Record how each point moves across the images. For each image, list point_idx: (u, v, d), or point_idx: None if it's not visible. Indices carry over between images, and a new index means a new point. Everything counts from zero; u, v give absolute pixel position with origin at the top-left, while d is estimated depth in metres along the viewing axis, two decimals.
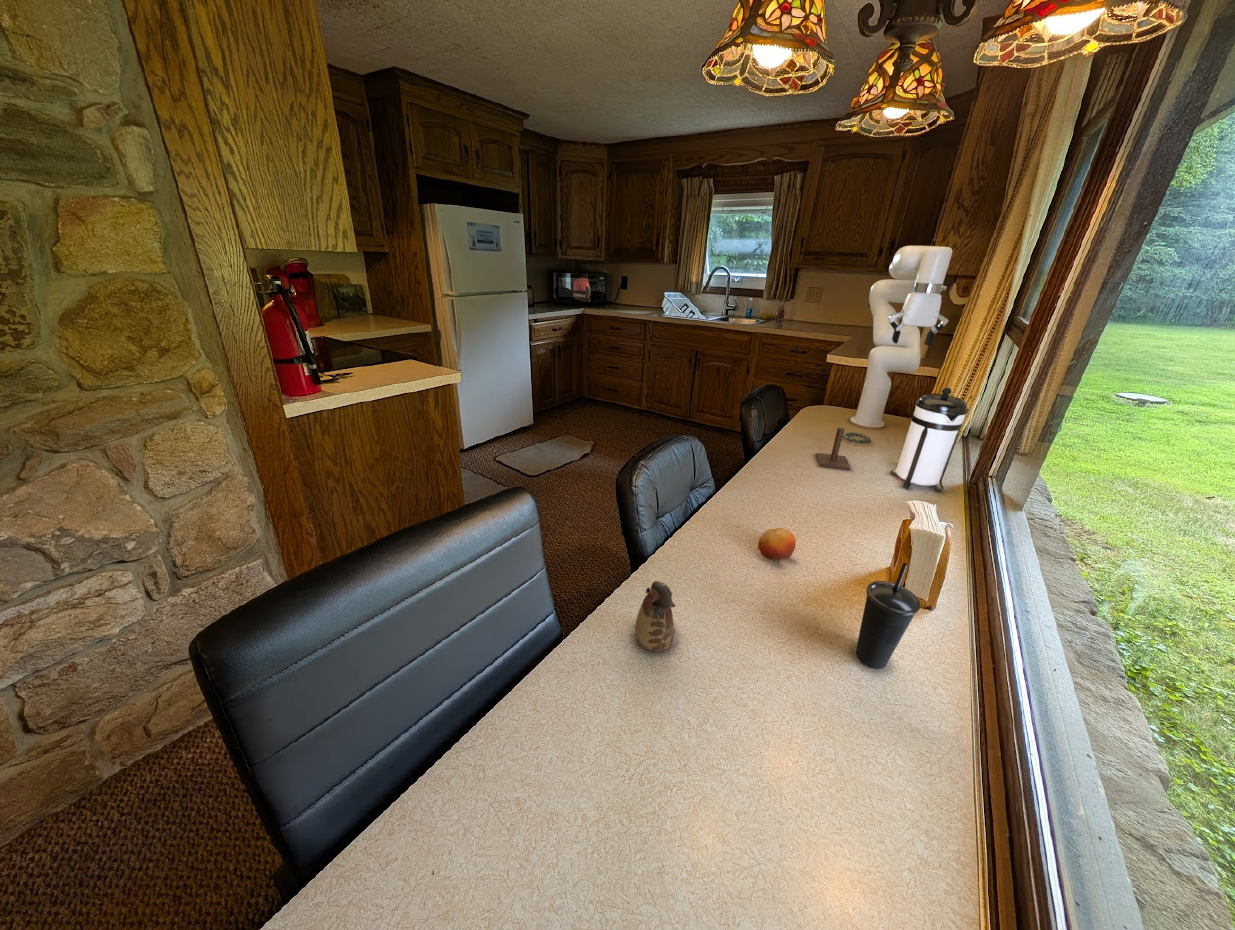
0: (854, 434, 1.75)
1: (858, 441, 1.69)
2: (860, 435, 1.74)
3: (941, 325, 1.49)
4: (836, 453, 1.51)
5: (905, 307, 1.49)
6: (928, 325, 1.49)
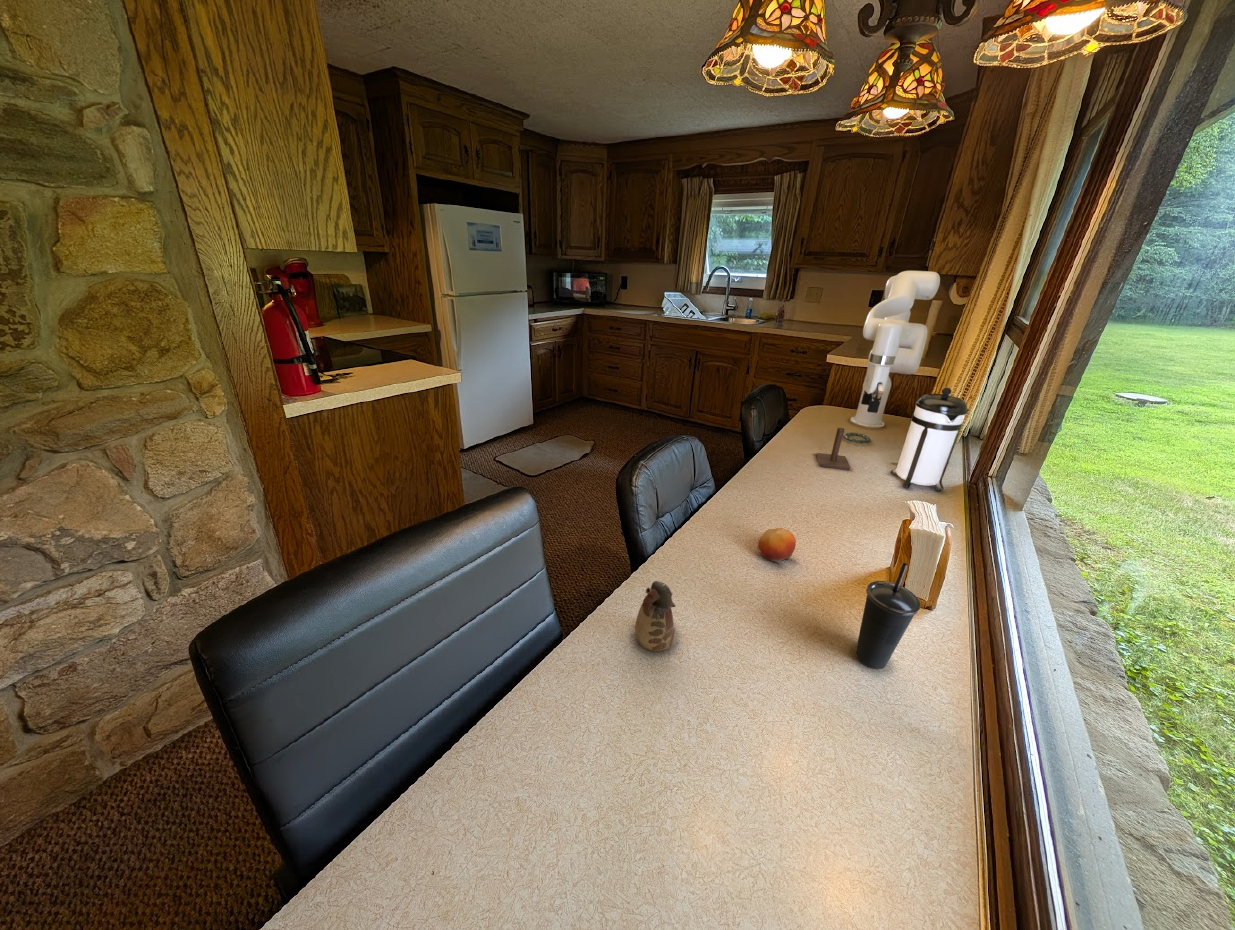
0: (854, 434, 1.75)
1: (858, 441, 1.69)
2: (860, 435, 1.74)
3: None
4: (836, 453, 1.51)
5: (883, 380, 1.54)
6: None
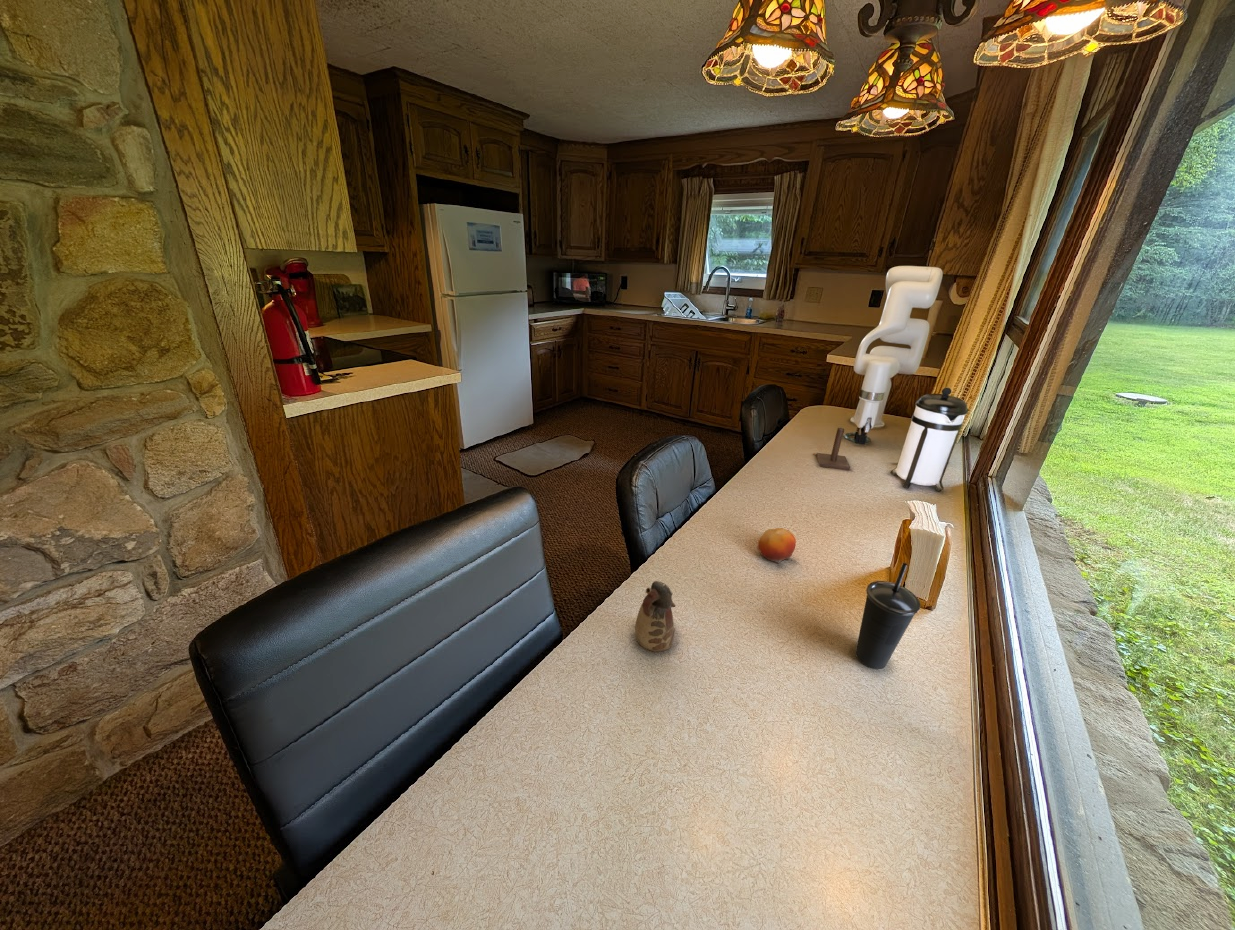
0: (854, 434, 1.75)
1: None
2: None
3: None
4: (836, 453, 1.51)
5: (873, 415, 1.59)
6: None
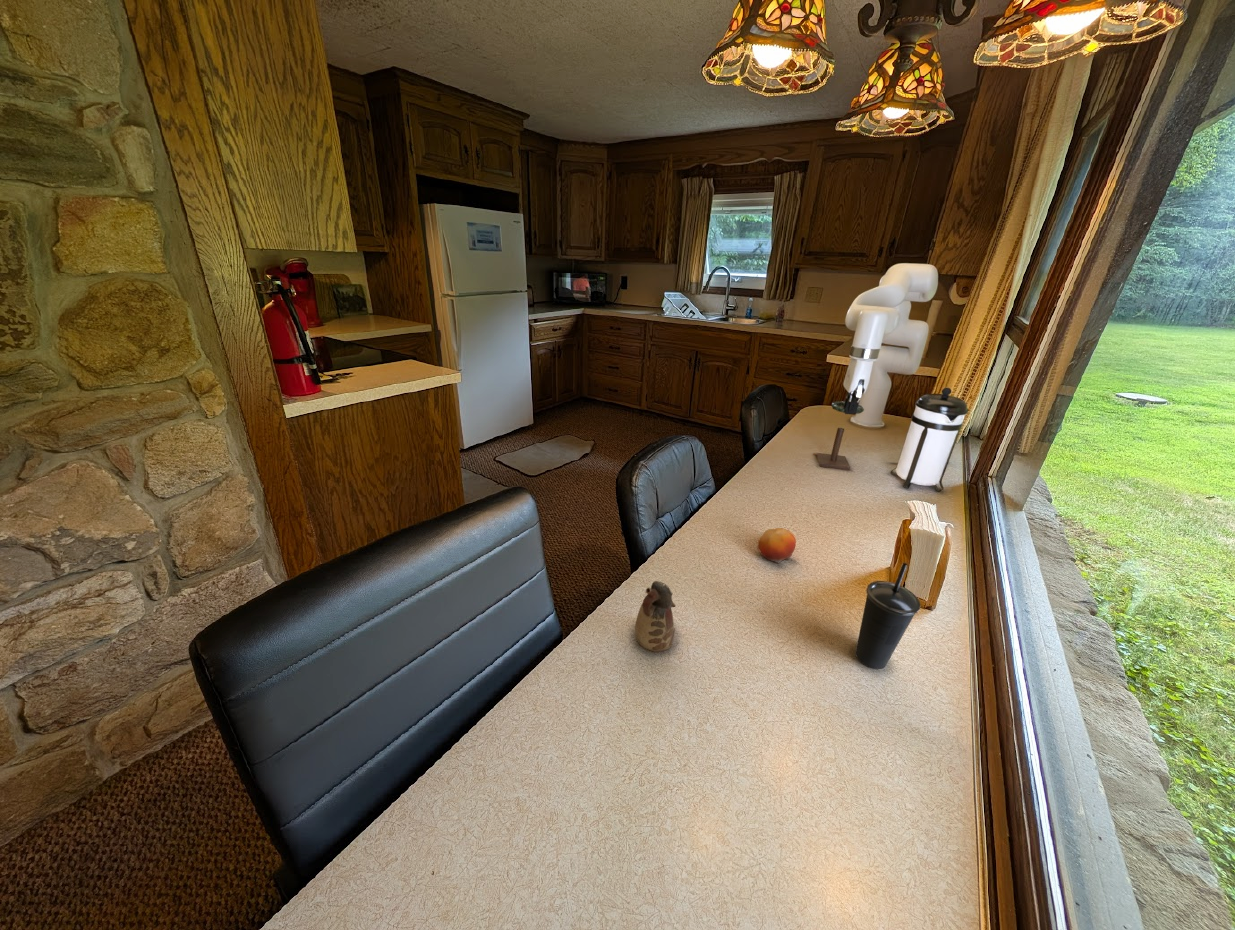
0: None
1: None
2: None
3: None
4: (836, 453, 1.51)
5: (866, 376, 1.33)
6: None
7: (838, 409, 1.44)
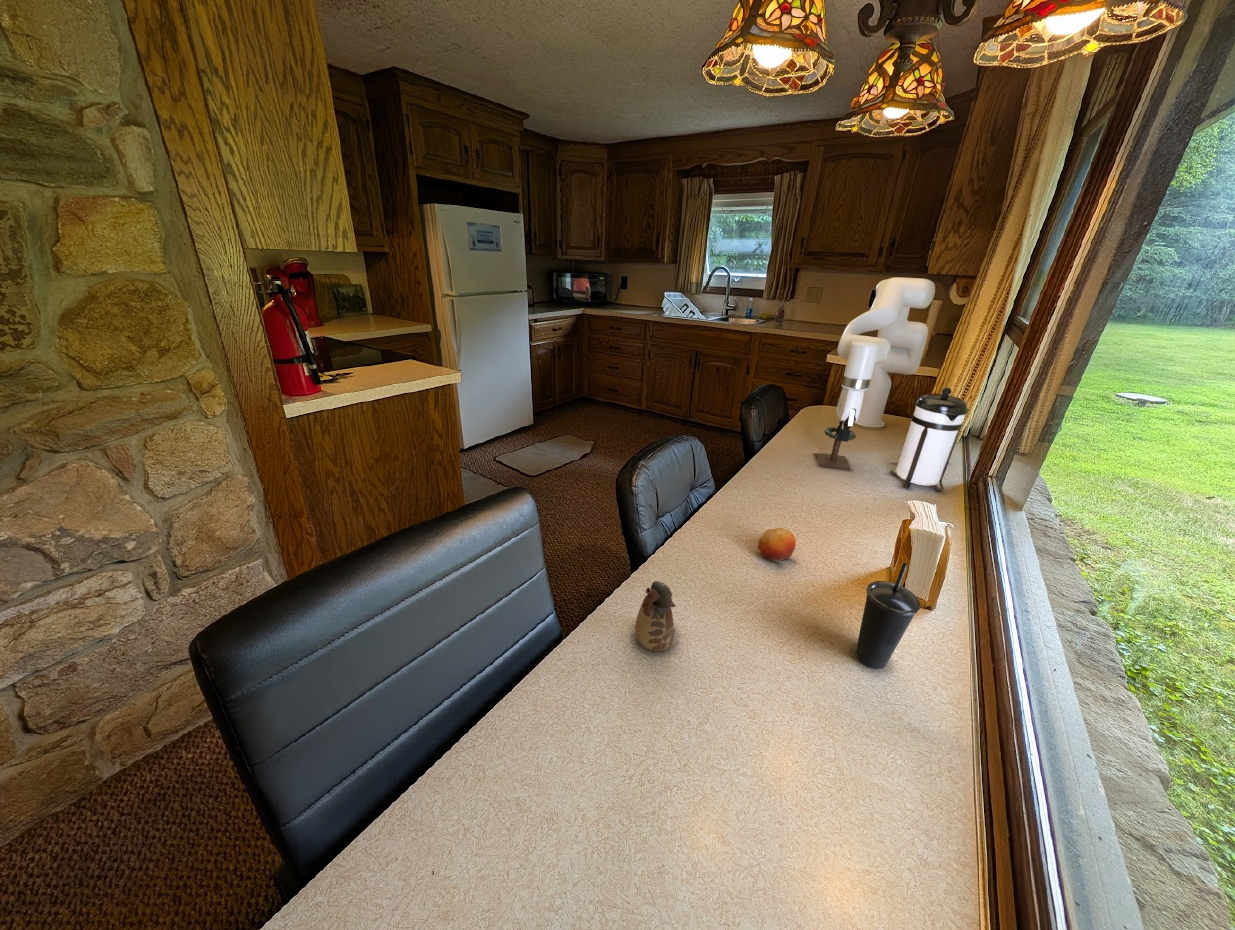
0: None
1: None
2: None
3: None
4: (836, 453, 1.51)
5: (857, 405, 1.36)
6: None
7: (831, 436, 1.47)
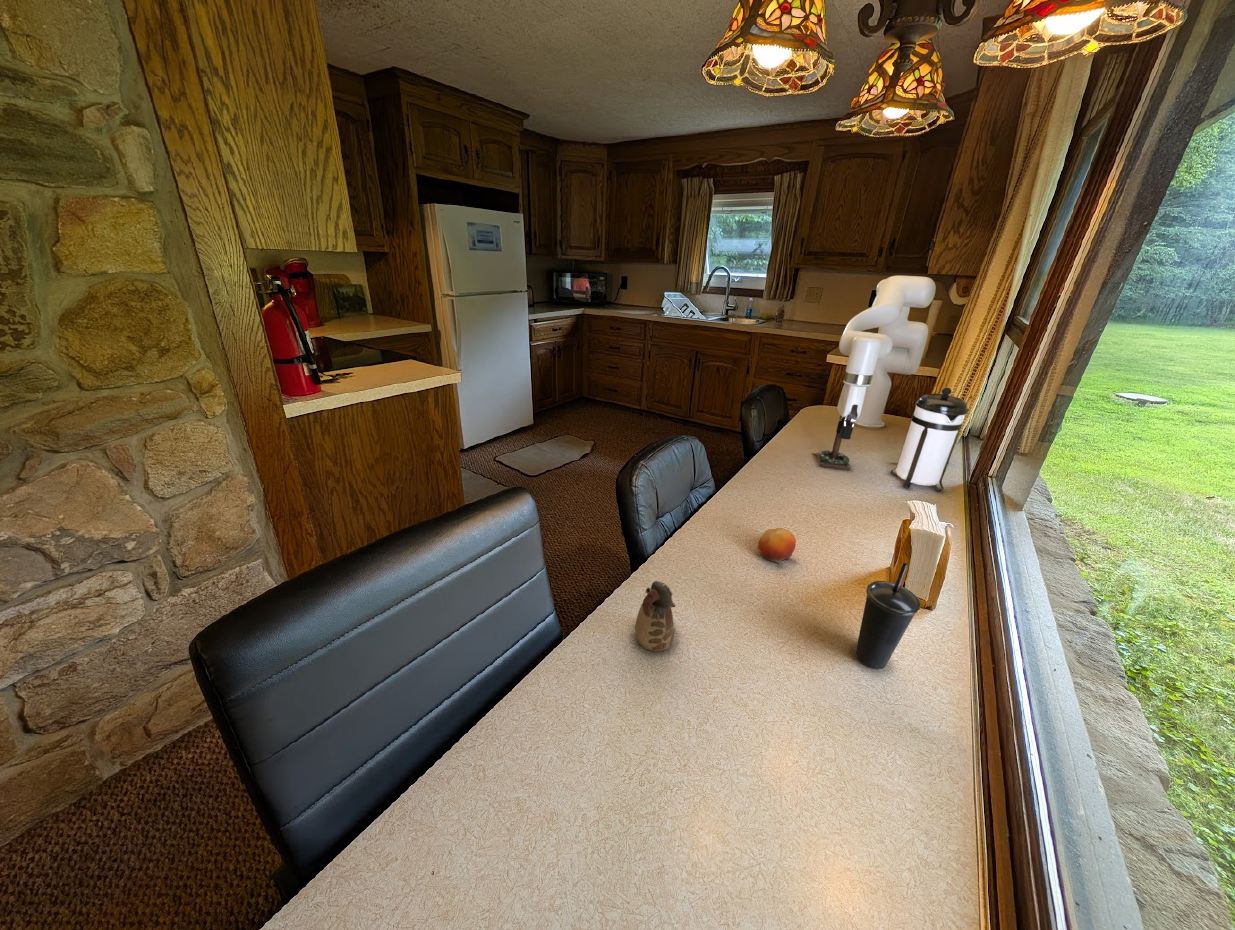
0: None
1: (835, 461, 1.48)
2: (838, 454, 1.54)
3: None
4: (836, 453, 1.51)
5: (859, 401, 1.35)
6: None
7: (825, 459, 1.50)
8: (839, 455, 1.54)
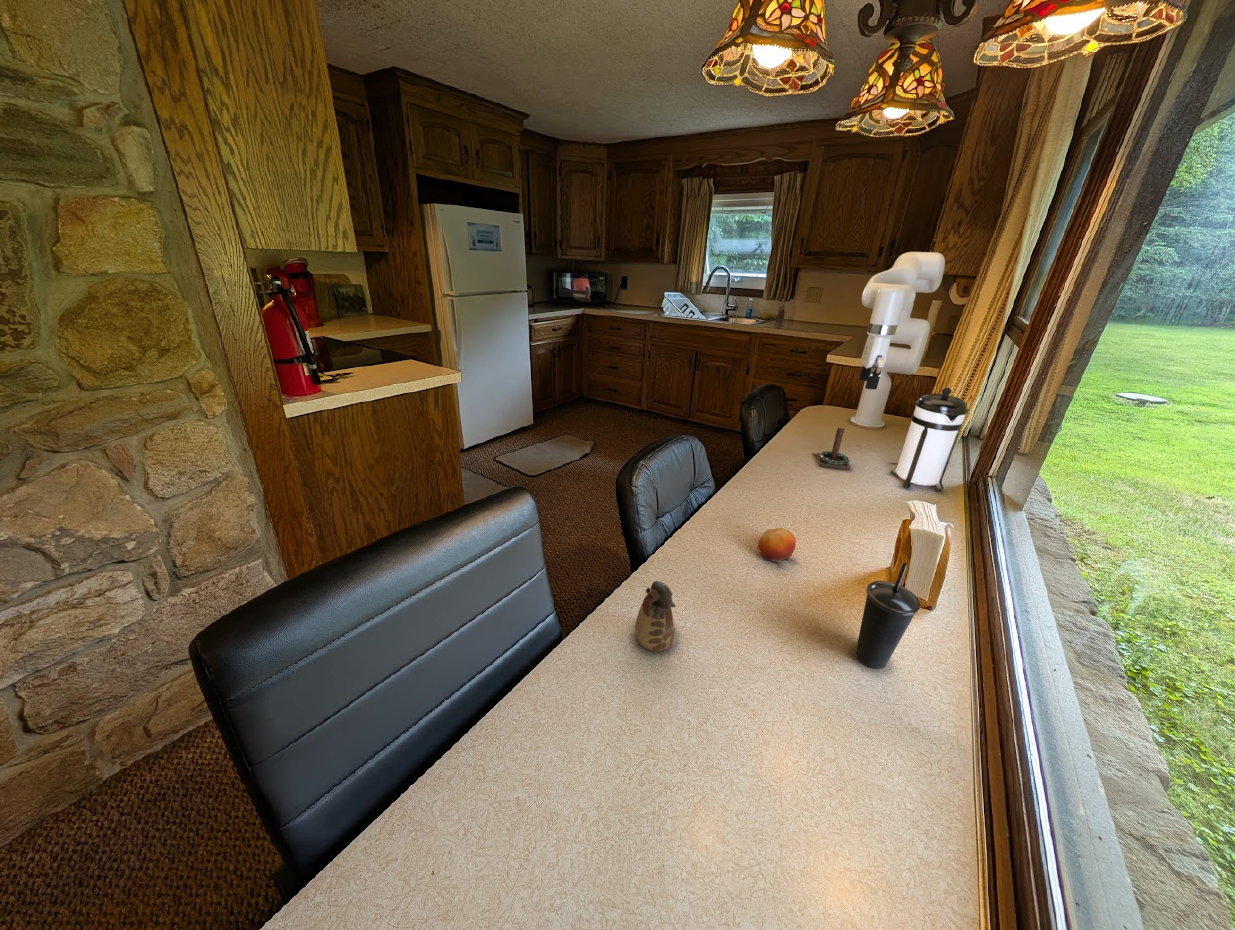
0: None
1: (834, 462, 1.48)
2: (838, 454, 1.54)
3: None
4: (836, 453, 1.51)
5: (883, 352, 1.38)
6: None
7: (824, 461, 1.50)
8: (839, 455, 1.54)
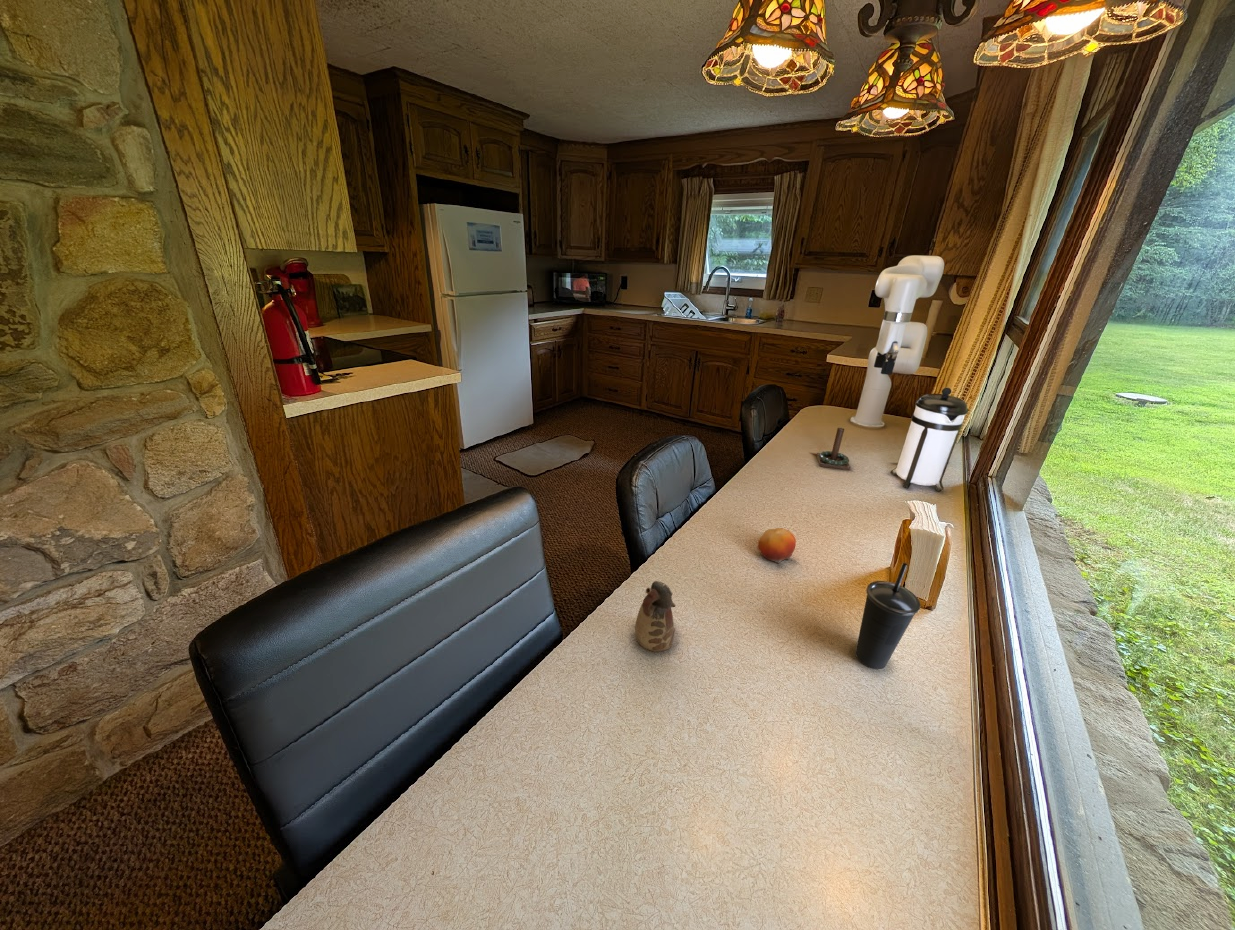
0: None
1: (834, 462, 1.48)
2: (838, 454, 1.54)
3: None
4: (836, 453, 1.51)
5: (898, 338, 1.44)
6: None
7: (824, 461, 1.50)
8: (839, 455, 1.54)
